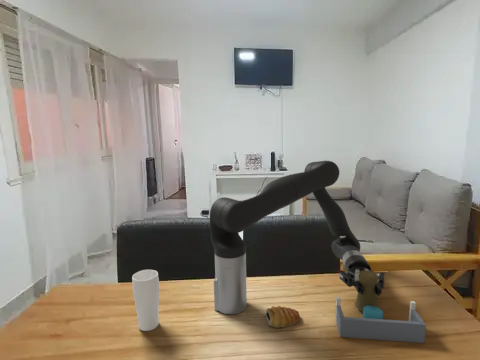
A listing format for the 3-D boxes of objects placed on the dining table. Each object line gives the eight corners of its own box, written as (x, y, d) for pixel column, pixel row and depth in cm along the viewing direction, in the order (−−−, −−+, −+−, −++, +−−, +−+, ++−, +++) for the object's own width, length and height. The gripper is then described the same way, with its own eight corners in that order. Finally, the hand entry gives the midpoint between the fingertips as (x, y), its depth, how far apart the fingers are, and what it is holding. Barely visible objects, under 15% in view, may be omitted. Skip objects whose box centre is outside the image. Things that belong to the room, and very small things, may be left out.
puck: (365, 325, 81) (366, 315, 81) (360, 314, 86) (361, 304, 85) (385, 326, 80) (385, 316, 80) (379, 315, 85) (379, 305, 85)
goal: (340, 336, 77) (341, 311, 76) (335, 320, 84) (336, 296, 83) (424, 343, 74) (426, 317, 73) (412, 325, 81) (414, 301, 80)
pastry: (294, 312, 88) (295, 300, 88) (303, 326, 82) (304, 313, 81) (263, 316, 86) (263, 303, 86) (270, 331, 80) (270, 318, 79)
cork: (379, 314, 85) (382, 278, 83) (357, 312, 86) (359, 276, 84) (374, 302, 91) (377, 268, 89) (353, 300, 92) (355, 266, 90)
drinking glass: (138, 337, 78) (133, 283, 76) (134, 323, 84) (130, 272, 82) (164, 329, 81) (160, 277, 79) (158, 315, 87) (155, 267, 85)
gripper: (334, 253, 102) (344, 278, 85) (378, 255, 100) (398, 280, 83) (333, 274, 103) (343, 302, 86) (377, 276, 101) (396, 305, 84)
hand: (370, 291), depth 85 cm, fingers closed on cork, 4 cm apart
